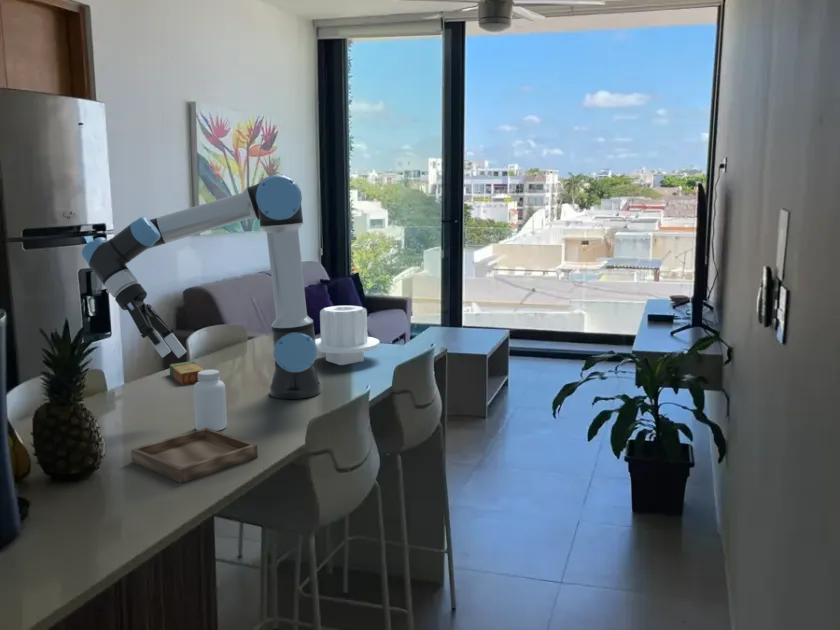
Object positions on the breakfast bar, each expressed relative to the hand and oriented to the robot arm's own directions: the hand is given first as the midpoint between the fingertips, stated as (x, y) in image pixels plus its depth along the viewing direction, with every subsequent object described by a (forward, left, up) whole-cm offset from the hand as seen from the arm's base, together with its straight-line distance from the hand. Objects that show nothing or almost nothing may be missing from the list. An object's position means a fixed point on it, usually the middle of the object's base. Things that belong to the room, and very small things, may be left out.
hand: (174, 354), depth 200 cm
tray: (+14, +28, -18) cm, 36 cm away
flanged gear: (-77, -17, -19) cm, 81 cm away
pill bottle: (-2, +11, -19) cm, 22 cm away
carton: (-28, -40, -19) cm, 52 cm away
